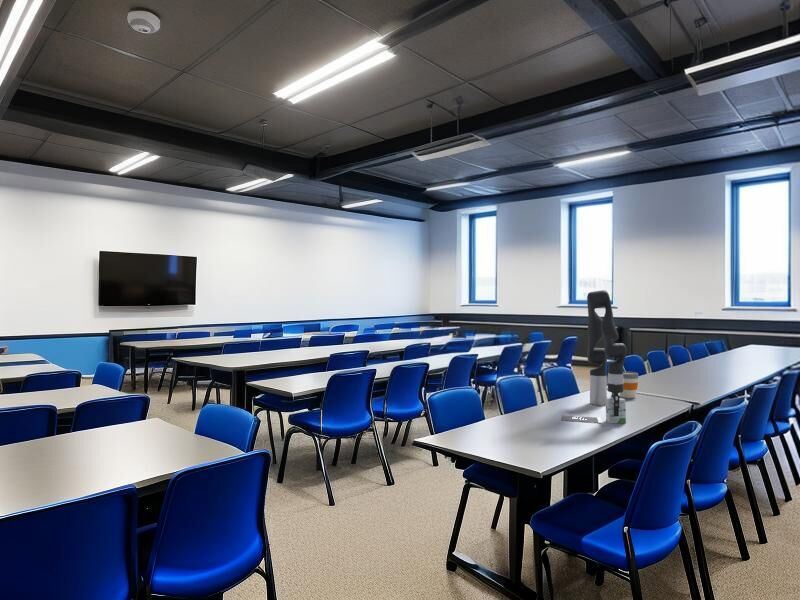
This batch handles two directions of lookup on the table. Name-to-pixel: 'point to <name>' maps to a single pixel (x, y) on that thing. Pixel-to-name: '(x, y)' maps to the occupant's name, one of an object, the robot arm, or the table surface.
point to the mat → (589, 419)
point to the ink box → (610, 411)
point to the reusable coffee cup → (630, 384)
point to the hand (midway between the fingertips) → (615, 414)
